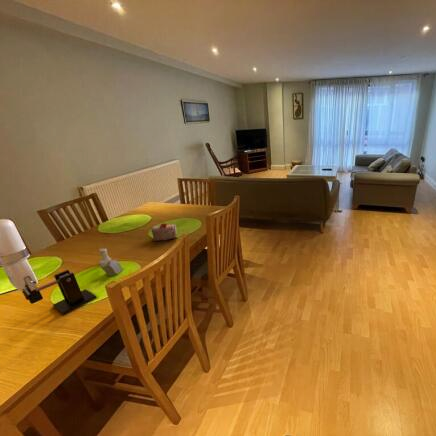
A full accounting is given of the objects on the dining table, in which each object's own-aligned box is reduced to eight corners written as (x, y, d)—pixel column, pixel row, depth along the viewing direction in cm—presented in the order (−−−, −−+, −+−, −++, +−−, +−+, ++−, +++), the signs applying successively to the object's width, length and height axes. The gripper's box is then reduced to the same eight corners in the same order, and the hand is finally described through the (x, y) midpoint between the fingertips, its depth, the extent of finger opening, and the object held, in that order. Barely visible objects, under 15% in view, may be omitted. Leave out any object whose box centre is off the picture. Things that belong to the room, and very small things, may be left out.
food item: (178, 234, 157) (175, 220, 153) (177, 239, 150) (174, 225, 146) (155, 237, 153) (152, 223, 149) (153, 242, 146) (149, 228, 142)
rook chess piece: (101, 265, 123) (96, 252, 120) (102, 261, 126) (97, 248, 123) (111, 263, 125) (107, 249, 122) (112, 259, 129) (108, 246, 126)
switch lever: (27, 300, 84) (23, 293, 83) (24, 297, 85) (20, 290, 84) (72, 280, 95) (70, 273, 93) (69, 278, 96) (66, 271, 95)
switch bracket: (63, 315, 92) (50, 285, 86) (53, 306, 96) (40, 278, 90) (96, 297, 100) (86, 270, 95) (86, 291, 105) (75, 264, 99)
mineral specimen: (100, 272, 116) (100, 257, 115) (122, 270, 121) (122, 255, 119) (98, 279, 110) (97, 264, 108) (120, 277, 115) (120, 262, 113)
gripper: (-13, 254, 80) (12, 298, 88) (3, 268, 73) (29, 314, 80) (18, 245, 86) (39, 286, 94) (36, 256, 79) (58, 300, 86)
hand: (34, 298), depth 87 cm, fingers closed on switch lever, 3 cm apart
